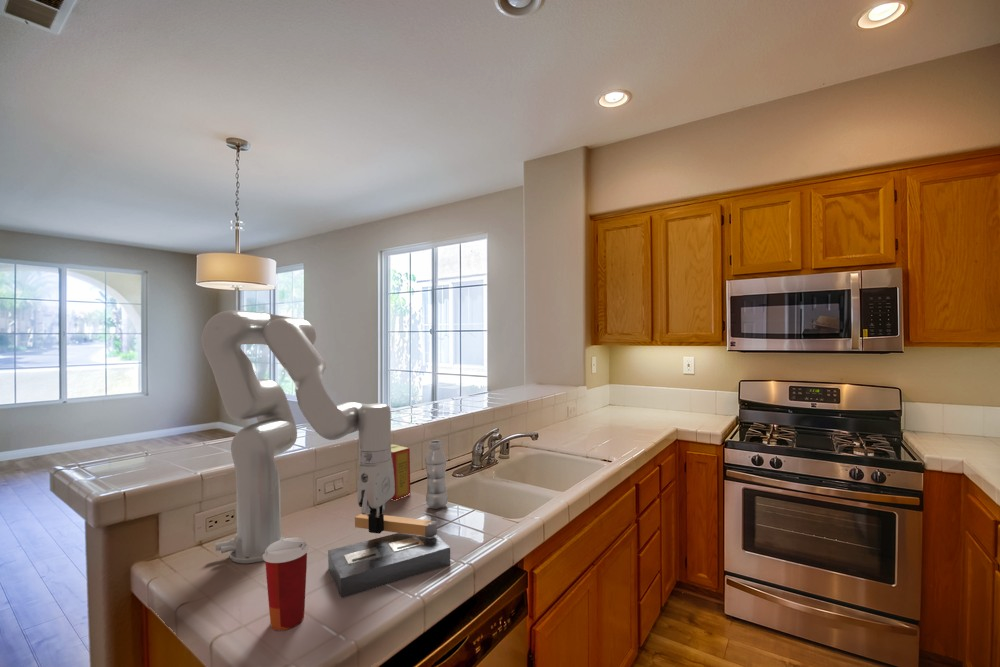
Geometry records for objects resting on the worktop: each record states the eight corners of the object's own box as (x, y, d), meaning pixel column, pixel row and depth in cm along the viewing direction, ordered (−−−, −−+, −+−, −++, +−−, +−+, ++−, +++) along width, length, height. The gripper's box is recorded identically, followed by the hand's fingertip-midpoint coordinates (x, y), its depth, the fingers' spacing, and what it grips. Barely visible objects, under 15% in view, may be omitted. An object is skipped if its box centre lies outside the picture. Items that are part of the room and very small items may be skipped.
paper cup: (316, 607, 87) (315, 535, 87) (300, 633, 79) (298, 554, 79) (275, 609, 87) (274, 536, 87) (255, 635, 79) (253, 556, 79)
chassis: (341, 598, 90) (340, 574, 90) (328, 568, 102) (328, 547, 102) (450, 564, 102) (449, 544, 102) (427, 541, 114) (427, 522, 114)
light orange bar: (439, 531, 108) (438, 521, 108) (433, 537, 105) (433, 526, 105) (362, 522, 115) (362, 512, 115) (354, 527, 112) (354, 517, 112)
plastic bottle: (444, 512, 133) (442, 444, 133) (422, 510, 134) (421, 444, 134) (450, 503, 139) (449, 439, 139) (430, 502, 141) (429, 439, 141)
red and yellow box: (410, 495, 148) (409, 446, 148) (394, 501, 143) (393, 451, 143) (392, 489, 154) (391, 443, 154) (376, 495, 149) (375, 447, 149)
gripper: (372, 465, 100) (373, 547, 99) (403, 448, 114) (404, 520, 114) (343, 463, 101) (344, 544, 101) (377, 447, 116) (378, 518, 116)
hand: (376, 531), depth 108 cm, fingers closed
